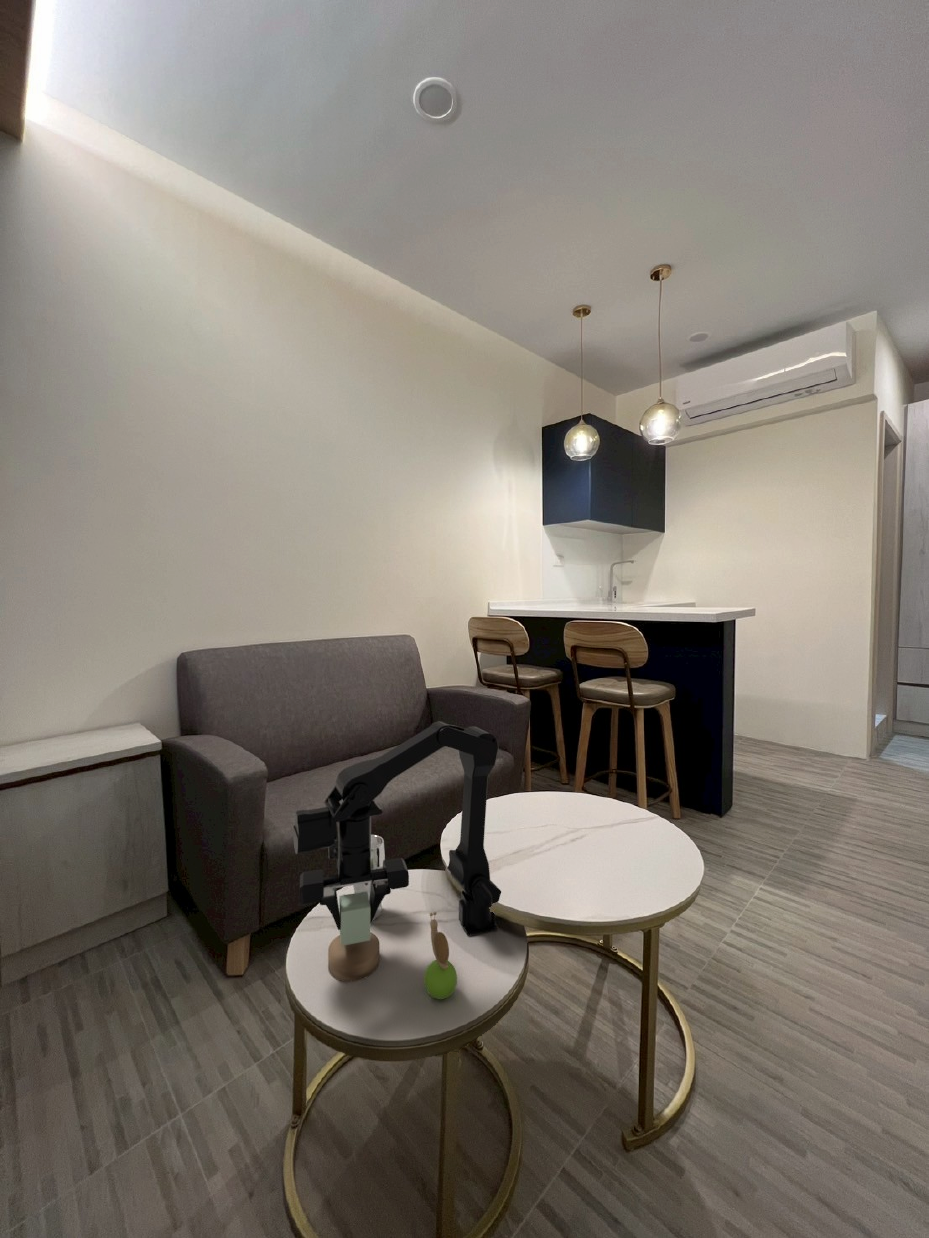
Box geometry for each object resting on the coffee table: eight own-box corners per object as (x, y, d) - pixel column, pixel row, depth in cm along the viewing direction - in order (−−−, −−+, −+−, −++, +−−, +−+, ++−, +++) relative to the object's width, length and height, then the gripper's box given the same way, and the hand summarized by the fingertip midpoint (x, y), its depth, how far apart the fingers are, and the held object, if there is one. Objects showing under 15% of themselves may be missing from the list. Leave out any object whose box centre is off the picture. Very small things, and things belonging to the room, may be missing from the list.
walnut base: (375, 941, 96) (376, 926, 96) (382, 975, 87) (382, 958, 87) (327, 950, 93) (327, 934, 93) (329, 986, 84) (329, 969, 84)
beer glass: (351, 925, 100) (351, 852, 100) (349, 905, 107) (349, 836, 106) (386, 919, 102) (386, 847, 102) (382, 899, 109) (382, 832, 108)
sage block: (367, 922, 93) (367, 891, 93) (370, 940, 88) (370, 907, 88) (339, 927, 91) (339, 895, 91) (341, 945, 87) (341, 912, 86)
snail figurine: (445, 974, 88) (446, 907, 87) (462, 1000, 82) (463, 928, 81) (417, 984, 85) (417, 915, 85) (432, 1012, 79) (432, 938, 79)
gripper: (398, 815, 100) (398, 891, 100) (300, 827, 94) (300, 908, 95) (409, 841, 89) (409, 926, 90) (299, 856, 83) (299, 947, 84)
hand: (354, 925), depth 90 cm, fingers closed on sage block, 5 cm apart
